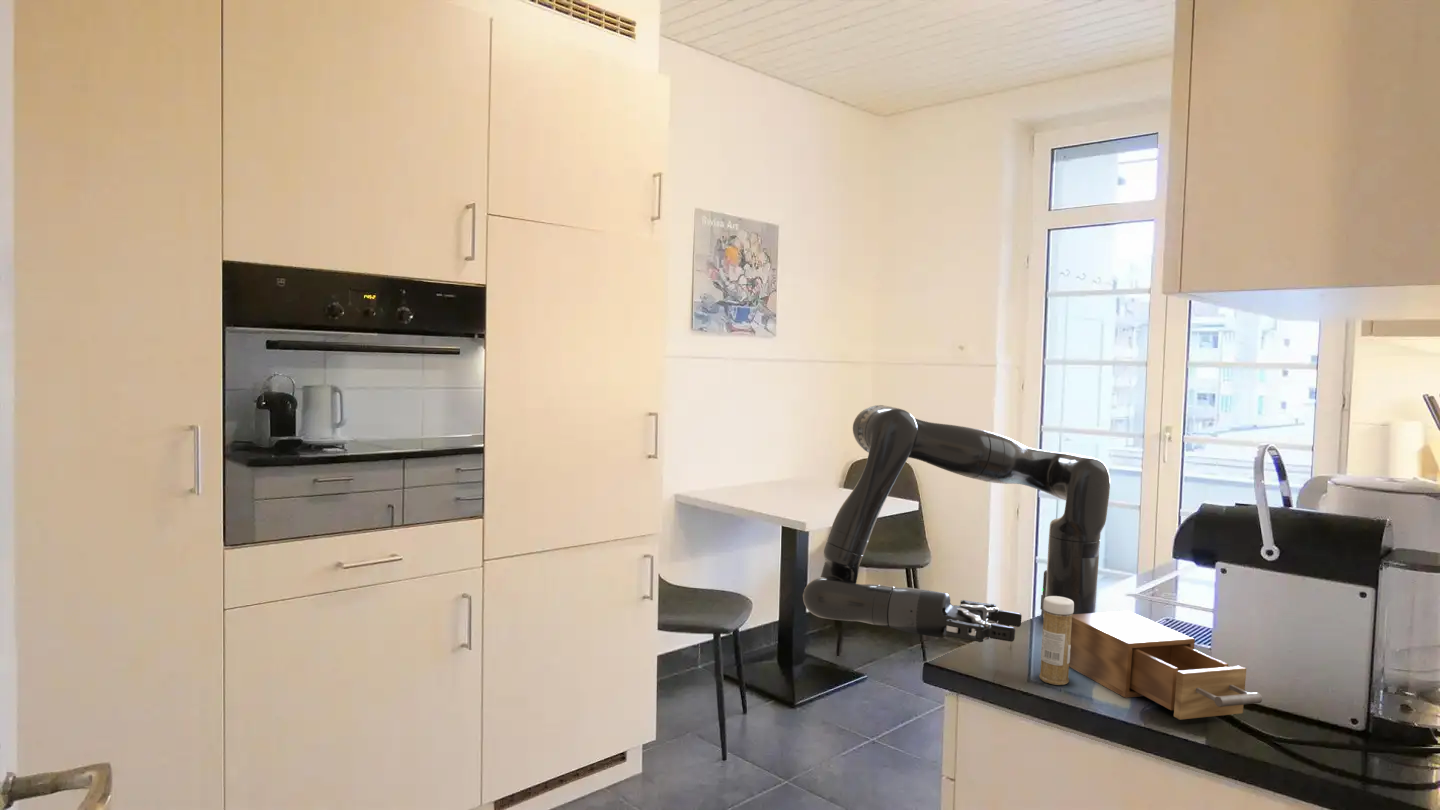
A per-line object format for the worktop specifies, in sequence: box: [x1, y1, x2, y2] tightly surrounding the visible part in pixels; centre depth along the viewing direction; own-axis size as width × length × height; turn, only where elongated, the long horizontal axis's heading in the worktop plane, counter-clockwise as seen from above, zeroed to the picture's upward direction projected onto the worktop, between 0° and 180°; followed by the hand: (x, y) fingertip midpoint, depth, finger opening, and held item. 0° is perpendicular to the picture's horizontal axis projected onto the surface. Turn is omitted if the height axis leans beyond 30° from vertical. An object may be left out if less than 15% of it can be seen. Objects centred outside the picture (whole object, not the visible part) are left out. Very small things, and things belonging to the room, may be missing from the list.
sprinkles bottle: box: [1039, 596, 1074, 686], centre depth 142 cm, size 5×5×14 cm
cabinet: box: [1069, 610, 1196, 699], centre depth 145 cm, size 15×13×9 cm
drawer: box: [1130, 644, 1263, 721], centre depth 132 cm, size 18×11×7 cm, turn 16°
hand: (1018, 627), depth 145 cm, fingers open, 8 cm apart
